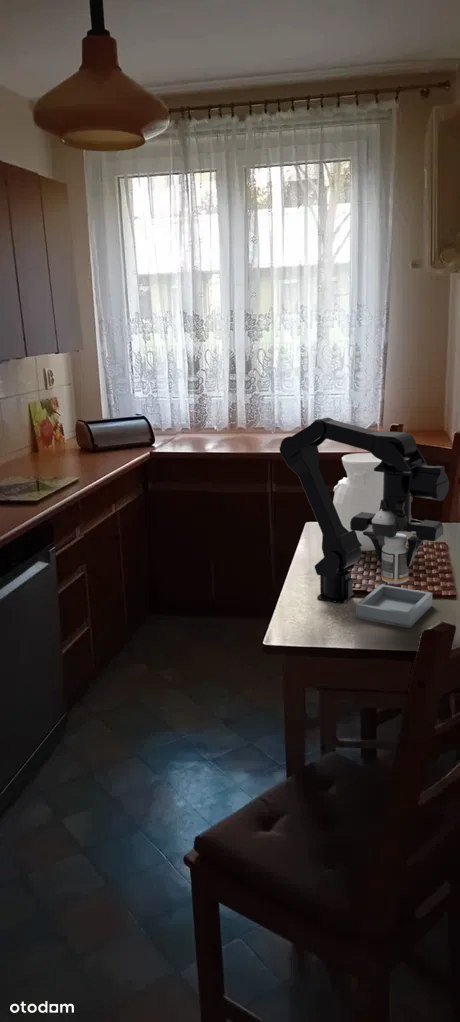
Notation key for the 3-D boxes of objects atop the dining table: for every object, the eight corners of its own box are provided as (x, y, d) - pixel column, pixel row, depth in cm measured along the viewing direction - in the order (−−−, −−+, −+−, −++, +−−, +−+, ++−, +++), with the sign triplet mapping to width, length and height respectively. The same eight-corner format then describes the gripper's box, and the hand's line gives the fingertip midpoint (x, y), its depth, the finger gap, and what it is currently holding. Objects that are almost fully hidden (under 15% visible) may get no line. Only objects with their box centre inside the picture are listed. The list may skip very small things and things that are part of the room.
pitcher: (390, 559, 205) (391, 465, 198) (322, 552, 213) (322, 461, 206) (407, 539, 221) (409, 452, 214) (344, 533, 229) (344, 449, 222)
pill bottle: (404, 574, 172) (405, 531, 169) (411, 584, 166) (412, 539, 164) (378, 576, 172) (379, 532, 169) (384, 585, 166) (385, 540, 164)
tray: (355, 617, 168) (356, 604, 168) (380, 596, 180) (380, 584, 179) (409, 628, 162) (410, 614, 161) (432, 605, 173) (432, 592, 173)
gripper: (339, 497, 162) (339, 568, 166) (427, 507, 153) (424, 583, 157) (361, 486, 171) (360, 554, 176) (445, 495, 162) (442, 566, 166)
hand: (395, 564), depth 168 cm, fingers closed on pill bottle, 6 cm apart
